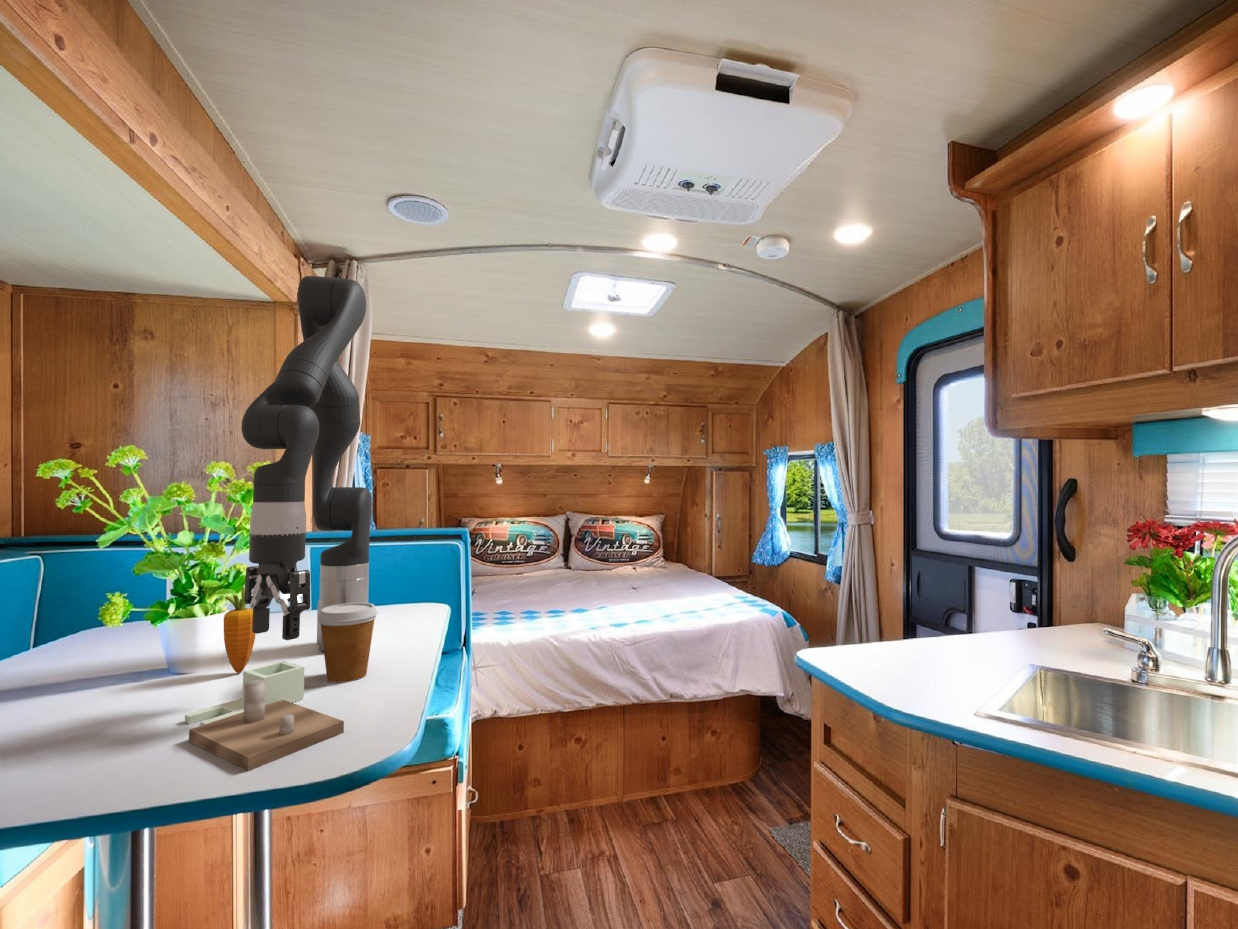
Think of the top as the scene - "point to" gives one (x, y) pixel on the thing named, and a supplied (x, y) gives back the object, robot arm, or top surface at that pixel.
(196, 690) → the top surface
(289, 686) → the hollow square block
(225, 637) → the carrot
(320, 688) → the top surface
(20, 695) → the top surface
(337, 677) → the disposable coffee cup
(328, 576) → the robot arm
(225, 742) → the post base
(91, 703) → the top surface
